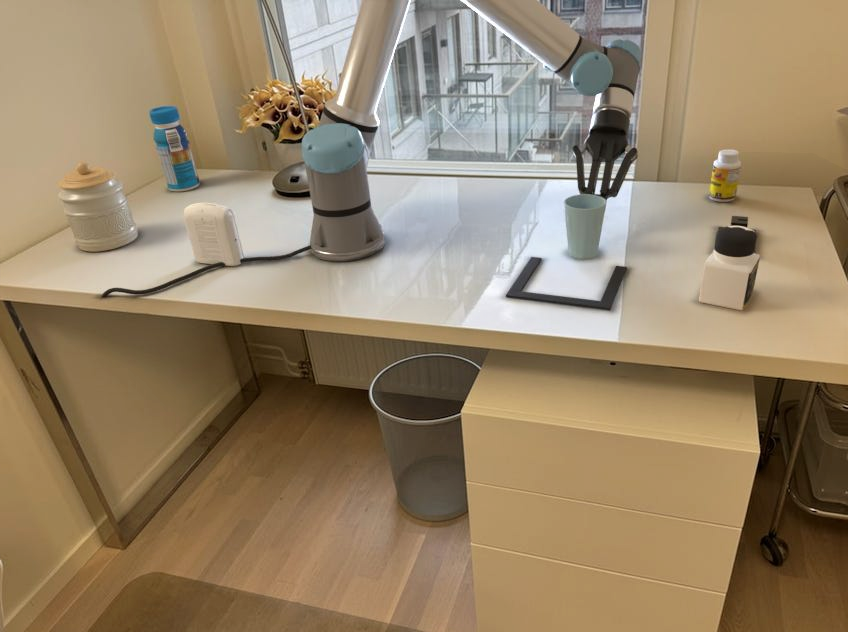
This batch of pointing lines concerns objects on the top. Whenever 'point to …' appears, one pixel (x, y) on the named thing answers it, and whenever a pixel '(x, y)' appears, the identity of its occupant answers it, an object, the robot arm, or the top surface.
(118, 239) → the jar
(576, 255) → the cup
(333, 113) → the robot arm
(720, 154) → the supplement bottle
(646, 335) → the top surface
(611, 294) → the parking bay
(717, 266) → the medicine bottle
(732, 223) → the build plate
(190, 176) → the beverage bottle
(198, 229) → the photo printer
